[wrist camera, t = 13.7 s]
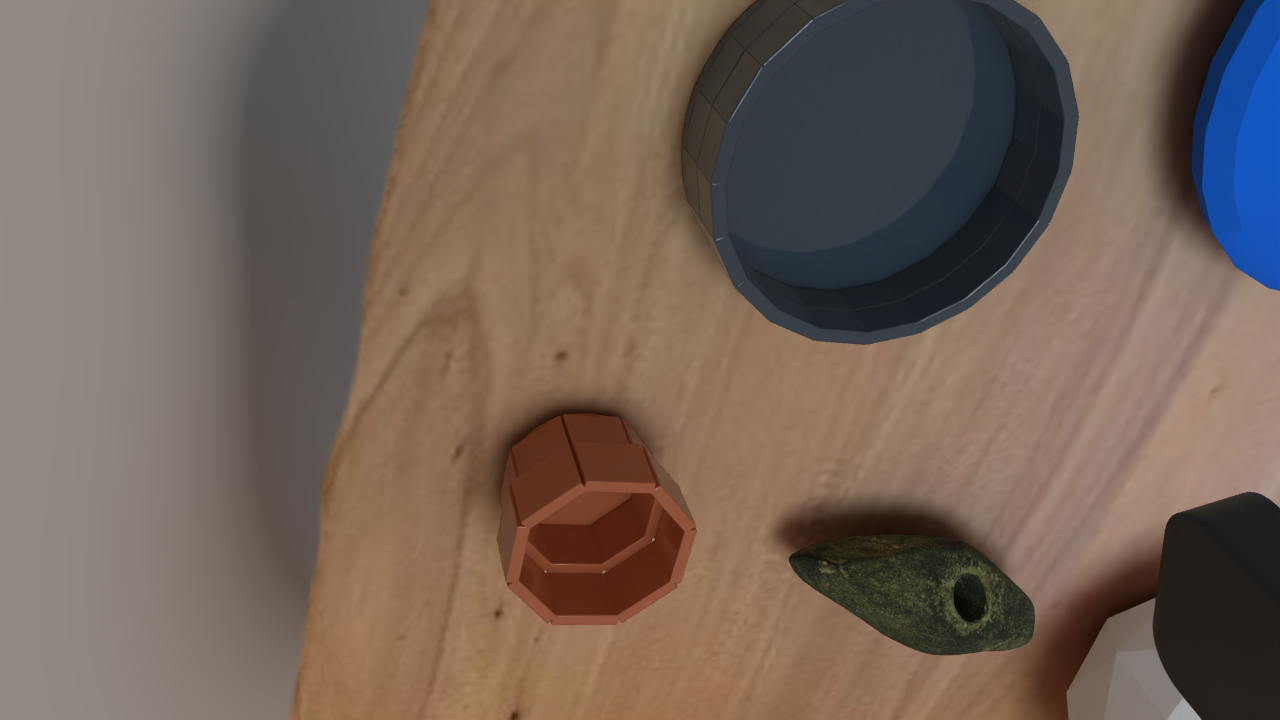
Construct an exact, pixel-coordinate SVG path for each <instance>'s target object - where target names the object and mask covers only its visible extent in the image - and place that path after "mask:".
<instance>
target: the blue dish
mask: <svg viewBox="0 0 1280 720" xmlns="http://www.w3.org/2000/svg"><path fill="white" fill-rule="evenodd" d="M1191 171H1192V175H1193V179H1194V183H1195V188H1196V192H1197V196H1198V200H1199V204H1200V209H1201V213H1202V215H1203V217H1204V218H1205V220H1206V222H1207V224H1208V226H1209V227H1210V229H1211V231H1212V233H1213V234H1214V236H1215V237H1216V239H1217V240H1218V242H1219V243H1220V245H1221V246H1222V248H1223V249H1224V251H1225V252H1226V254H1227V255H1228V256H1229V258H1230V259H1231V261H1232V262H1233V264H1234V265H1235V267H1237V268H1238V269H1240V270H1241V271H1243V272H1244V273H1246V274H1247V275H1249V276H1250V277H1252V278H1254V279H1255V280H1257V281H1258V282H1260V283H1261V284H1263V285H1264V286H1266V287H1267V288H1269V289H1274V290H1279V291H1280V0H1245V1H1244V2H1243V4H1242V6H1241V7H1240V9H1239V11H1238V13H1237V15H1236V17H1235V19H1234V21H1233V22H1232V24H1231V26H1230V28H1229V30H1228V32H1227V34H1226V36H1225V37H1224V39H1223V41H1222V43H1221V45H1220V47H1219V49H1218V51H1217V52H1216V54H1215V56H1214V58H1213V60H1212V62H1211V65H1210V69H1209V72H1208V75H1207V79H1206V82H1205V85H1204V89H1203V92H1202V95H1201V98H1200V102H1199V105H1198V108H1197V112H1196V115H1195V118H1194V134H1193V151H1192V168H1191Z"/></svg>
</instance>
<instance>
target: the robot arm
mask: <svg viewBox="0 0 1280 720" xmlns="http://www.w3.org/2000/svg"><path fill="white" fill-rule="evenodd" d="M1152 628H1153V637H1154V642H1155V646H1156V649H1157V653H1158V655H1159V658H1160V661H1161V663H1162V665H1163V667H1164V669H1165V671H1166V673H1167V675H1168V677H1169V678H1170V680H1171V682H1172V683H1173V685H1174V686H1175V687H1176V689H1177V690H1178V691H1179V693H1180V694H1181V695H1182V696H1183V698H1184V699H1185V700H1186V701H1187V702H1188V704H1189V705H1190V706H1191V707H1192V709H1193V710H1194V711H1195V712H1196V714H1197V715H1198V716H1199V717H1200V718H1201V720H1280V508H1279V507H1278V506H1277V505H1276V504H1275V503H1273V502H1272V501H1271V500H1270V499H1268V498H1266V497H1265V496H1263V495H1261V494H1258V493H1255V492H1246V493H1242V494H1239V495H1235V496H1232V497H1229V498H1226V499H1222V500H1219V501H1216V502H1213V503H1209V504H1206V505H1203V506H1200V507H1196V508H1193V509H1190V510H1187V511H1183V512H1180V513H1177V514H1175V515H1173V516H1172V517H1171V518H1170V519H1169V520H1168V522H1167V525H1166V529H1165V534H1164V542H1163V549H1162V556H1161V563H1160V571H1159V578H1158V585H1157V593H1156V600H1155V607H1154V615H1153V625H1152Z"/></svg>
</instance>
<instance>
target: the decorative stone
mask: <svg viewBox="0 0 1280 720" xmlns="http://www.w3.org/2000/svg"><path fill="white" fill-rule="evenodd" d="M789 563H790V565H791V566H792V568H793V570H794V571H795V573H796V574H797V575H798V576H799V577H800V578H801V579H802V580H803V581H804V582H806V583H807V584H808V585H810V586H811V587H812V588H814V589H815V590H817V591H818V592H820V593H821V594H823V595H825V596H826V597H828V598H829V599H831V600H833V601H834V602H836V603H837V604H839V605H841V606H842V607H844V608H845V609H847V610H848V611H850V612H851V613H853V614H854V615H856V616H857V617H859V618H860V619H862V620H863V621H865V622H866V623H867V624H869V625H870V626H872V627H873V628H875V629H876V630H878V631H879V632H880V633H882V634H883V635H885V636H887V637H889V638H891V639H893V640H895V641H897V642H899V643H901V644H903V645H905V646H907V647H910V648H912V649H915V650H917V651H920V652H923V653H927V654H932V655H960V654H968V653H976V652H983V651H1004V650H1010V649H1014V648H1018V647H1021V646H1023V645H1025V644H1027V643H1028V642H1029V641H1030V640H1031V638H1032V635H1033V631H1034V623H1035V613H1034V606H1033V604H1032V602H1031V600H1030V599H1029V597H1028V596H1027V595H1026V594H1025V593H1024V592H1023V591H1022V590H1021V589H1020V588H1019V587H1018V586H1017V585H1016V584H1015V583H1014V582H1012V581H1011V580H1010V579H1009V578H1008V577H1007V576H1006V575H1005V574H1004V573H1003V572H1002V571H1001V570H1000V569H999V568H998V567H997V566H995V565H994V564H993V563H992V562H991V561H990V560H989V559H988V558H986V557H985V556H984V555H983V554H982V553H980V552H979V551H978V550H976V549H975V548H973V547H972V546H970V545H969V544H967V543H964V542H962V541H959V540H954V539H950V538H943V537H936V536H927V535H911V534H883V535H865V536H854V537H846V538H840V539H834V540H829V541H825V542H821V543H817V544H813V545H810V546H807V547H805V548H803V549H801V550H799V551H797V552H795V553H794V554H792V555H791V556H790V557H789Z"/></svg>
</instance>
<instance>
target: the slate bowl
mask: <svg viewBox="0 0 1280 720" xmlns="http://www.w3.org/2000/svg"><path fill="white" fill-rule="evenodd" d="M1078 118H1079V116H1078V108H1077V103H1076V98H1075V93H1074V88H1073V83H1072V78H1071V73H1070V68H1069V63H1068V62H1067V59H1066V57H1065V56H1064V54H1063V53H1062V51H1061V50H1060V48H1059V47H1058V45H1057V43H1056V42H1055V40H1054V39H1053V37H1052V36H1051V34H1050V33H1049V31H1048V30H1047V28H1046V27H1045V25H1044V23H1043V22H1042V20H1041V19H1040V18H1039V17H1038V16H1037V15H1036V14H1034V13H1033V12H1031V11H1030V10H1028V9H1027V8H1025V7H1024V6H1022V5H1021V4H1019V3H1018V2H1016V1H1015V0H758V1H756V2H755V3H754V4H753V5H752V6H751V7H750V8H749V9H748V10H747V11H746V12H745V13H744V14H743V15H742V16H741V17H740V18H739V19H738V20H737V21H736V22H735V23H734V24H733V25H732V27H731V28H730V29H729V31H728V32H727V33H726V34H725V36H724V37H723V38H722V40H721V41H720V42H719V43H718V45H717V47H716V48H715V50H714V52H713V53H712V55H711V57H710V58H709V60H708V62H707V63H706V65H705V67H704V69H703V71H702V73H701V76H700V78H699V80H698V82H697V84H696V87H695V89H694V92H693V95H692V98H691V101H690V105H689V108H688V111H687V115H686V121H685V126H684V132H683V140H682V170H683V181H684V185H685V190H686V194H687V198H688V202H689V205H690V207H691V210H692V212H693V215H694V218H695V220H696V222H697V224H698V226H699V227H700V229H701V231H702V233H703V235H704V238H705V240H706V242H707V244H708V246H709V248H710V249H711V251H712V252H713V254H714V256H715V257H716V259H717V260H718V262H719V263H720V265H721V267H722V268H723V270H724V271H725V273H726V274H727V276H728V278H729V279H730V281H731V282H732V284H733V285H734V287H735V288H736V289H737V290H738V291H739V292H740V293H741V294H742V295H743V296H744V297H745V298H746V299H747V300H748V301H749V302H750V303H751V304H752V305H753V306H754V307H755V308H756V309H757V310H758V311H759V312H760V313H761V314H762V315H763V316H764V317H765V318H766V319H767V320H769V321H770V322H772V323H774V324H777V325H779V326H781V327H784V328H786V329H788V330H791V331H793V332H795V333H798V334H800V335H802V336H804V337H807V338H809V339H811V340H816V341H823V342H836V343H849V344H862V345H865V344H872V343H877V342H882V341H886V340H891V339H896V338H901V337H905V336H910V335H915V334H918V333H921V332H923V331H925V330H927V329H929V328H931V327H933V326H935V325H937V324H939V323H941V322H943V321H945V320H947V319H949V318H951V317H953V316H955V315H957V314H959V313H961V312H963V311H965V310H967V309H969V308H970V307H972V306H973V305H974V304H975V303H976V302H978V301H979V300H980V299H981V298H982V297H984V296H985V295H986V294H987V293H988V292H990V291H991V290H992V289H993V288H994V287H996V286H997V285H998V284H999V283H1000V282H1002V281H1003V280H1004V279H1005V278H1006V277H1008V276H1009V275H1010V274H1011V273H1012V272H1013V270H1015V269H1016V268H1017V267H1018V265H1019V264H1020V263H1021V261H1022V260H1023V259H1024V257H1025V256H1026V255H1027V253H1028V252H1029V251H1030V249H1031V248H1032V247H1033V245H1034V244H1035V243H1036V241H1037V240H1038V239H1039V237H1040V236H1041V235H1042V233H1043V232H1044V231H1045V229H1046V228H1047V227H1048V225H1049V224H1048V223H1050V221H1051V219H1052V217H1053V214H1054V212H1055V209H1056V207H1057V205H1058V202H1059V200H1060V198H1061V195H1062V193H1063V191H1064V188H1065V186H1066V183H1067V181H1068V179H1069V176H1070V174H1071V170H1072V166H1073V158H1074V150H1075V142H1076V134H1077V126H1078Z"/></svg>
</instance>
